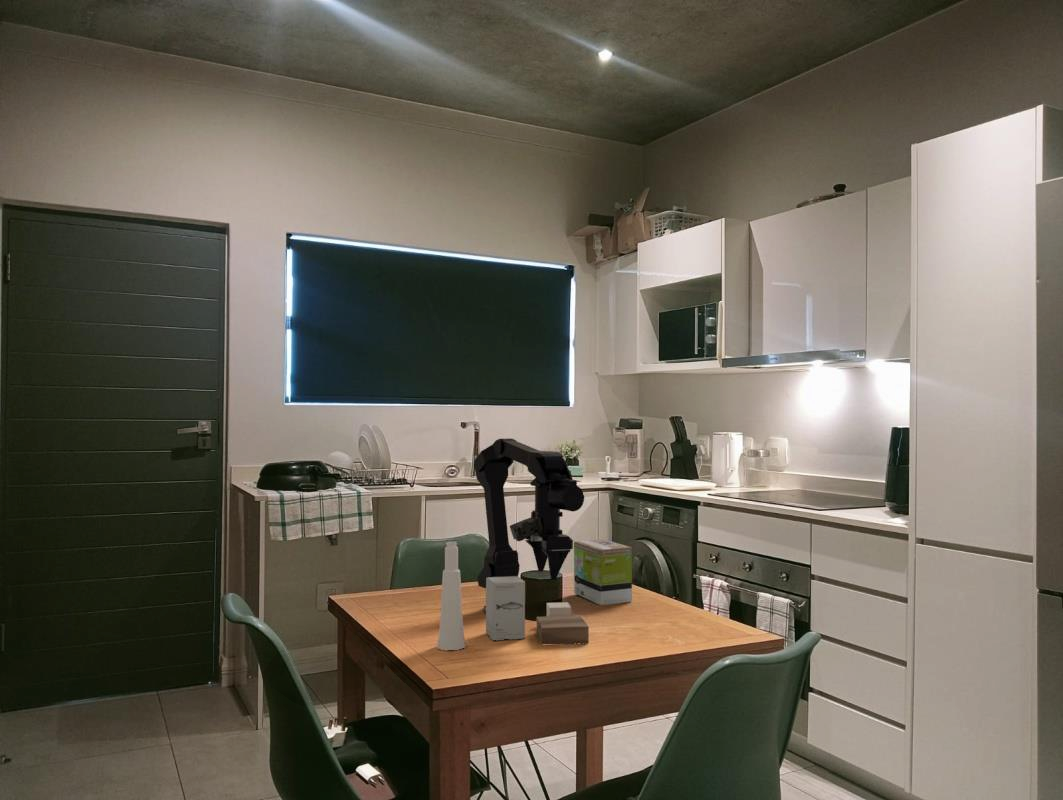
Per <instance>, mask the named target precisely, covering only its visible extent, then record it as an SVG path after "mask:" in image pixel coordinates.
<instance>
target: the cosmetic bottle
mask: <svg viewBox="0 0 1063 800" xmlns="http://www.w3.org/2000/svg"><path fill="white" fill-rule="evenodd" d="M445 545H446V546H445V547H444V569H443V570H442V580H441V581H442V582H441V599H440V601H441V604H440V621H439V631H438V638H437V645H436V648H437V649H438V648H439V649H442V650H441V651H443V650H457V651H460V650H459V649H462V648H464V649H465V648H466V640H465V632H464V622H463V607H462V604H463V603H462V601H463V600H462V584H461V582H462V581H461V580H462V579H461V570H460V569H459V547H458V546H457V545H458V542H457V541H447V542H446V543H445ZM439 649H438V650H439ZM462 650H463V649H462Z"/></svg>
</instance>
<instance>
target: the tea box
mask: <svg viewBox="0 0 1063 800" xmlns="http://www.w3.org/2000/svg"><path fill="white" fill-rule="evenodd" d="M632 551H633V547H632V546H628V545H626V544H625V545H624V544H623V543H622V544H621V543H618V542H615V541H611V540H609V539H591V540H582V541H581V540H580V541H573V566H574V567H573V575H574V576H573V577H574V582H573V584H574V585H573V588H574V590H573V591H574V595H576V596H577V595H578V596H580V597H583V599H587V600H589V601H590V602H593V603H595V604H597V605H598V606H607V605H608V606H609V605H610V606H611V605H616V604H625V603H631V602H633V569H632V568H633V566H632V565H633V561H632V560H633V558H632V557H633V554H632V553H633V552H632Z"/></svg>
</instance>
